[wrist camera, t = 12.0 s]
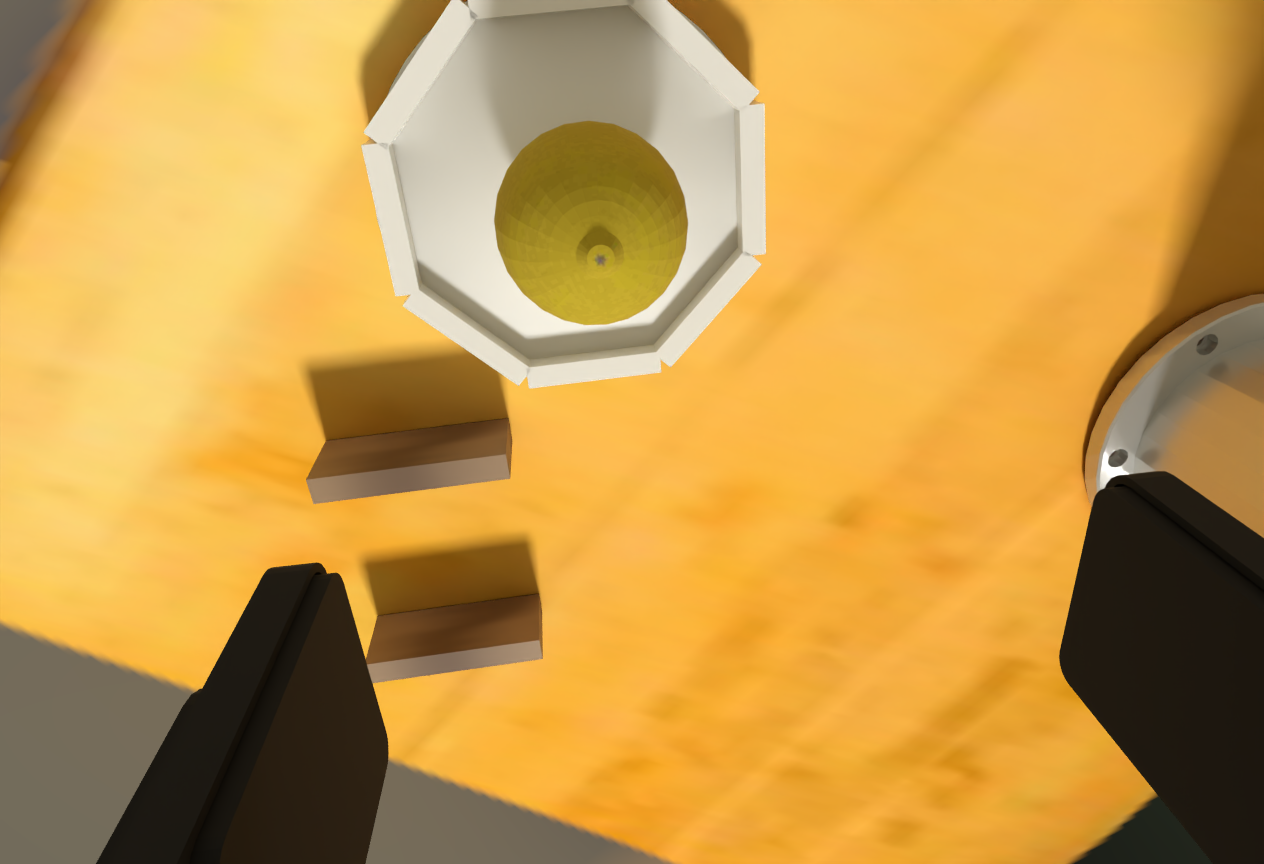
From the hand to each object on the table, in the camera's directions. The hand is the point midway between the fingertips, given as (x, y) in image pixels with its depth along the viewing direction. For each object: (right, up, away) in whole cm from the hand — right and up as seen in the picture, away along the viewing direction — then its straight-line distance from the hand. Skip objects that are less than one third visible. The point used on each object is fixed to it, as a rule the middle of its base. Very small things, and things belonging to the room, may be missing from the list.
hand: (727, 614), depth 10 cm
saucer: (-3, +11, +17) cm, 21 cm away
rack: (-9, -2, +23) cm, 25 cm away
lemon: (-3, +10, +17) cm, 20 cm away
